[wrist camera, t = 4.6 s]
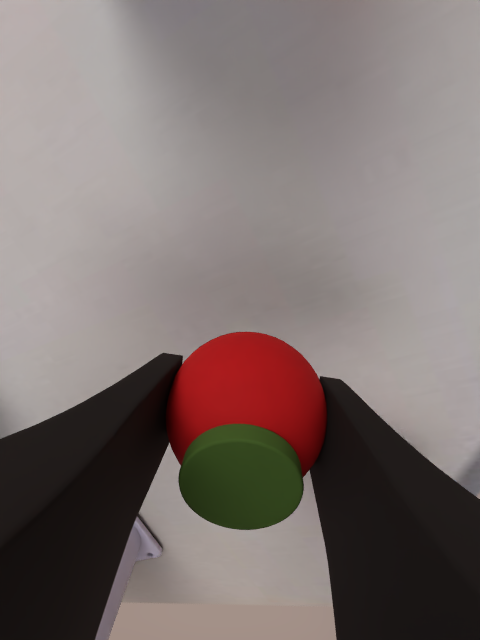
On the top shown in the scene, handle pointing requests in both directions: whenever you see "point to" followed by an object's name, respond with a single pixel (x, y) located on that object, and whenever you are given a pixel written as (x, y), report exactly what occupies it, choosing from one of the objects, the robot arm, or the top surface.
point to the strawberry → (245, 429)
